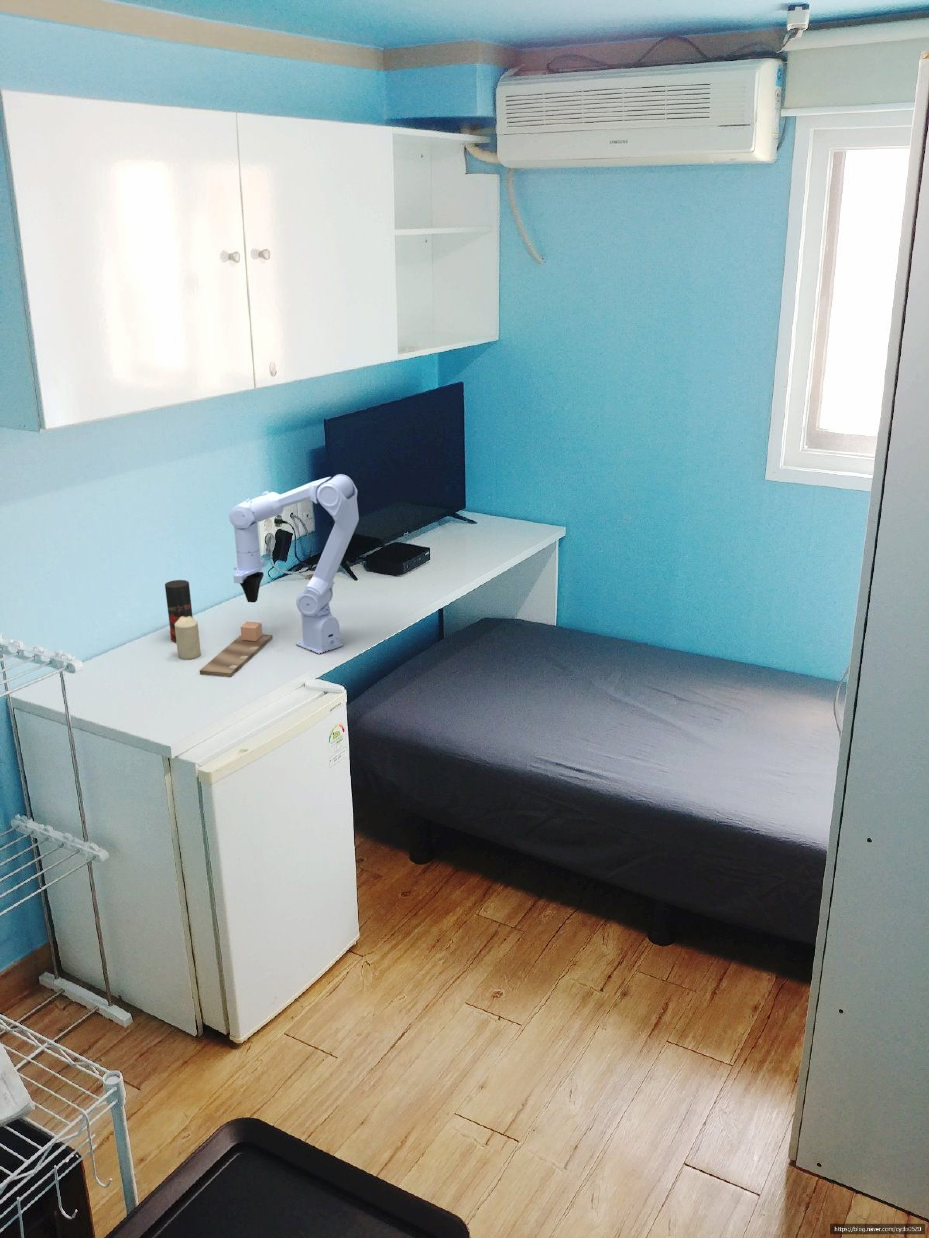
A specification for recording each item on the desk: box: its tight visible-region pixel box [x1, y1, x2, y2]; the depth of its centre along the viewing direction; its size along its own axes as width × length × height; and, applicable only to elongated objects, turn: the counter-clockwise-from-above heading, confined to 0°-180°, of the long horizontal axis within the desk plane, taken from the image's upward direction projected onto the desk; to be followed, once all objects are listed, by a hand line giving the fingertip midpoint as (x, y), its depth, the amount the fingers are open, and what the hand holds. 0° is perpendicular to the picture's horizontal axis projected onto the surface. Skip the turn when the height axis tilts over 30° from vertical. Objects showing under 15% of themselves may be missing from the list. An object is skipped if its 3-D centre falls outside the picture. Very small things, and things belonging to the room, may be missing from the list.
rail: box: [198, 633, 273, 678], centre depth 266 cm, size 25×8×1 cm, turn 167°
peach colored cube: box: [240, 621, 264, 641], centre depth 273 cm, size 4×4×4 cm
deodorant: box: [164, 579, 194, 644], centre depth 274 cm, size 6×6×15 cm
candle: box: [175, 616, 202, 661], centre depth 265 cm, size 6×6×10 cm
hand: (252, 601), depth 272 cm, fingers closed
